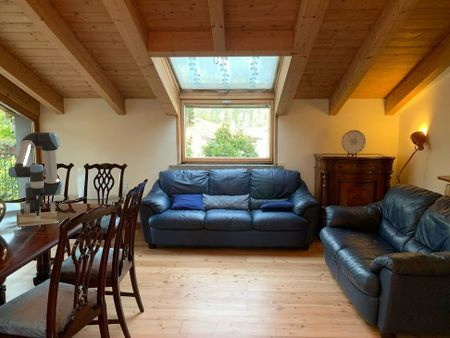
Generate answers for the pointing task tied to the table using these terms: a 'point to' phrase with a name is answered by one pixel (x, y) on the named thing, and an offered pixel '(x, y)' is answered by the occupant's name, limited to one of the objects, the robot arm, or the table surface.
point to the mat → (37, 223)
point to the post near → (27, 208)
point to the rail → (32, 218)
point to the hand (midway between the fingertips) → (38, 218)
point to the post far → (52, 206)
